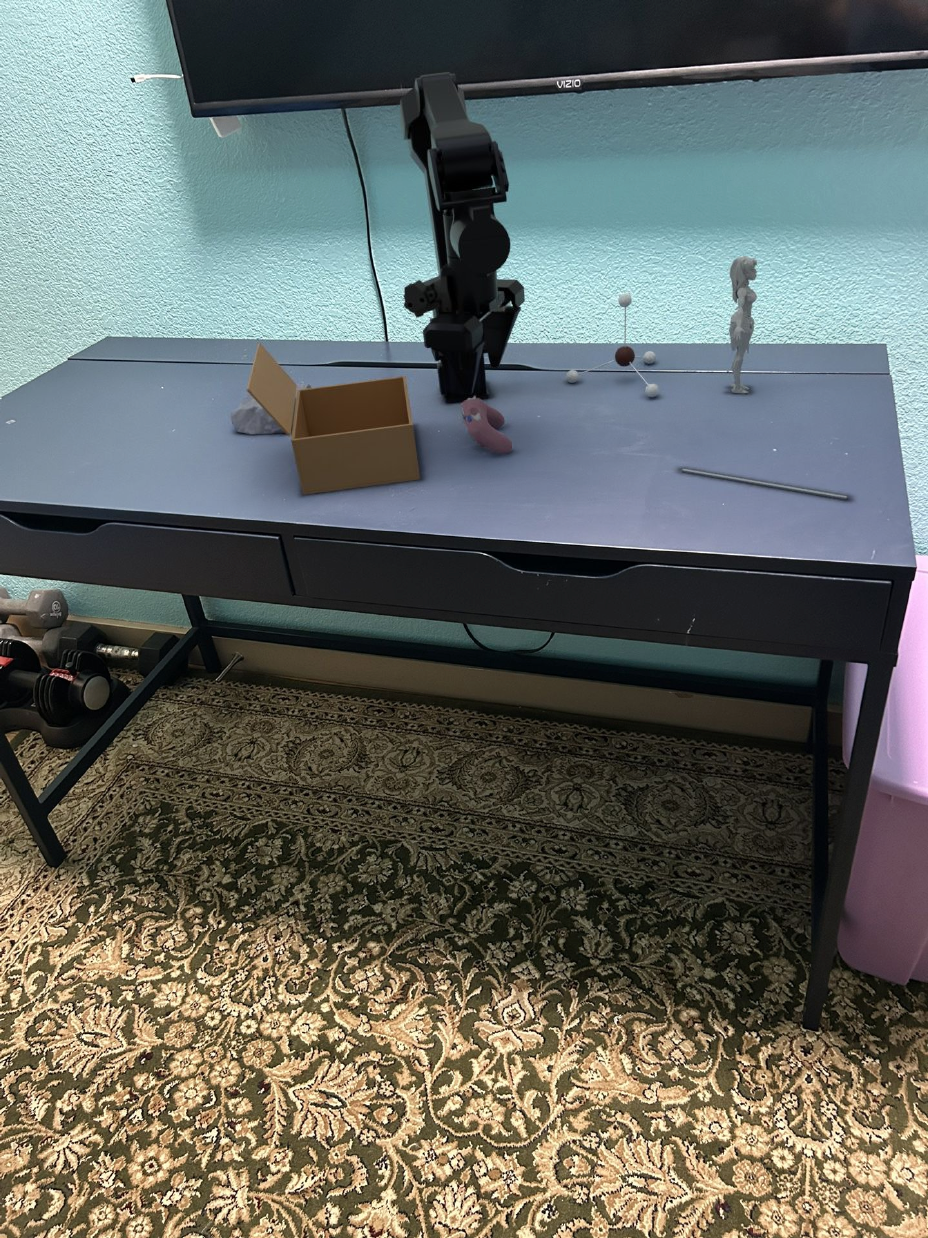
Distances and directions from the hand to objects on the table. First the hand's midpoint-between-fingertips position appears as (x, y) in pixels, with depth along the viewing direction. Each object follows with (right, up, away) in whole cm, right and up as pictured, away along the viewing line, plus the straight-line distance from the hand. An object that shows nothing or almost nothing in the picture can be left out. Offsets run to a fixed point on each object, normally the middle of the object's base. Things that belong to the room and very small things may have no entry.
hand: (481, 379), depth 115 cm
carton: (-16, -9, +4) cm, 19 cm away
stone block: (-31, -1, +19) cm, 36 cm away
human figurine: (+36, +1, +11) cm, 38 cm away
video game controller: (+1, -7, +5) cm, 9 cm away
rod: (+32, -15, -11) cm, 37 cm away
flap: (-26, -1, -2) cm, 26 cm away
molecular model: (+22, +4, +17) cm, 28 cm away
